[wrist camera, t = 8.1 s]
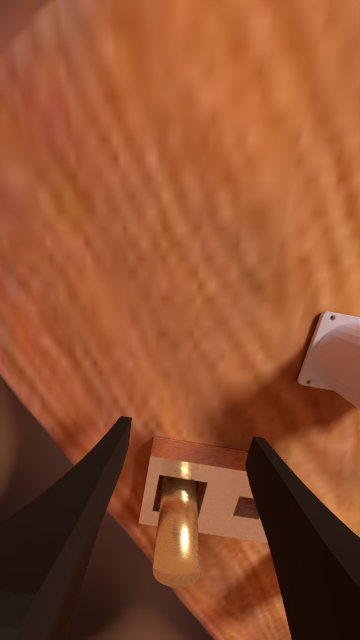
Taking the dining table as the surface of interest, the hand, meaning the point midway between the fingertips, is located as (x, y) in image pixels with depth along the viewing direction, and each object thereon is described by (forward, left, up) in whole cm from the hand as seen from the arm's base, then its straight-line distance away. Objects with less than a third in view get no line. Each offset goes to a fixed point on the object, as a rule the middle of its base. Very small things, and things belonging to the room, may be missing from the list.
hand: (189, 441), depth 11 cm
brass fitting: (-2, +15, -9) cm, 17 cm away
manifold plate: (-6, +15, -9) cm, 18 cm away
